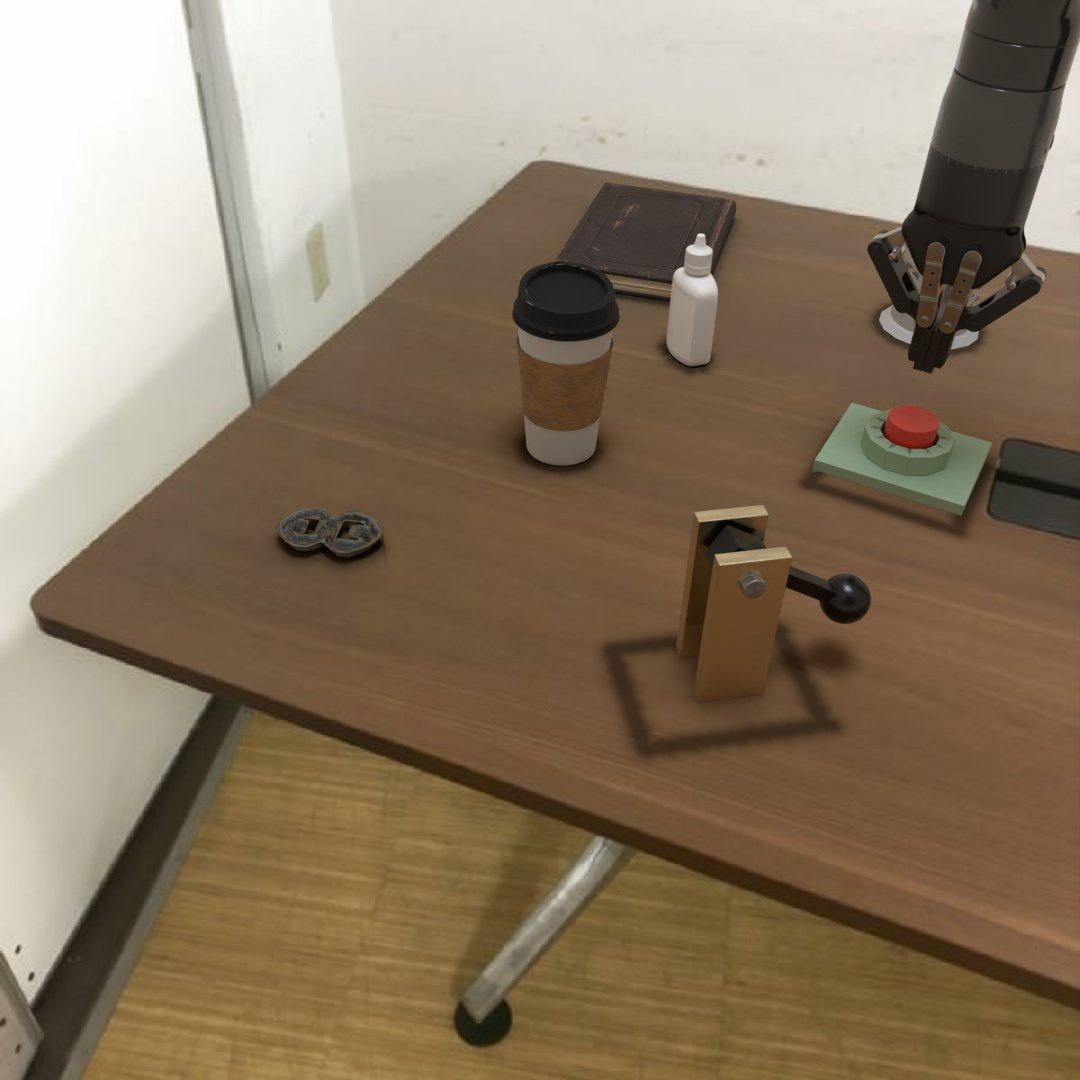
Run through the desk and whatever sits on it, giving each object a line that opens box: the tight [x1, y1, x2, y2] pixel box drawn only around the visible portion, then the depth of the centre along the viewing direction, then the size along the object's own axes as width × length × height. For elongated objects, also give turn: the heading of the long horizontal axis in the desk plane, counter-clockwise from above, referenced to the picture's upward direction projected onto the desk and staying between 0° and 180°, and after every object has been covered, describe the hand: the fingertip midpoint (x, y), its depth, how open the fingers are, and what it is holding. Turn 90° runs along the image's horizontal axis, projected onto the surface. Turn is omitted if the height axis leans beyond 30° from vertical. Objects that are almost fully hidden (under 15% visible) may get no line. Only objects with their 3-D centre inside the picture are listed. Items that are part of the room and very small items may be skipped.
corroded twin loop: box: [276, 506, 383, 559], centre depth 84 cm, size 5×8×1 cm, turn 82°
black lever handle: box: [704, 525, 872, 625], centre depth 69 cm, size 12×3×3 cm
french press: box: [878, 246, 983, 350], centre depth 104 cm, size 10×12×25 cm
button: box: [884, 405, 940, 449], centre depth 90 cm, size 4×4×2 cm
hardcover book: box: [553, 182, 737, 302], centre depth 125 cm, size 16×23×2 cm
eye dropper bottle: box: [665, 234, 719, 367], centre depth 104 cm, size 4×6×12 cm
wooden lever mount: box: [675, 504, 793, 703], centre depth 70 cm, size 12×9×13 cm
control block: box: [811, 402, 993, 516], centre depth 92 cm, size 12×10×4 cm
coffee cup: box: [511, 261, 621, 467], centre depth 90 cm, size 8×8×15 cm
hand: (925, 367), depth 86 cm, fingers closed
